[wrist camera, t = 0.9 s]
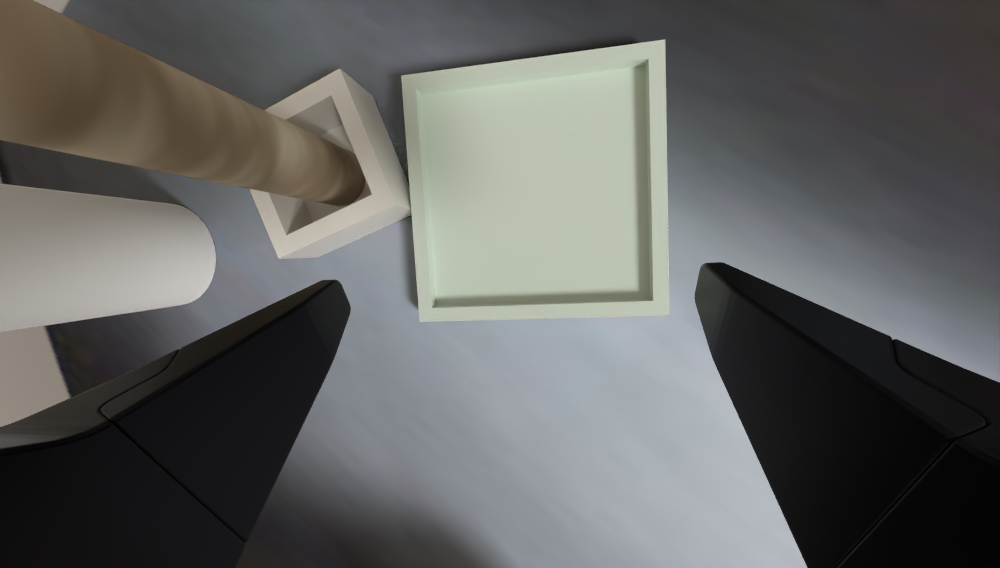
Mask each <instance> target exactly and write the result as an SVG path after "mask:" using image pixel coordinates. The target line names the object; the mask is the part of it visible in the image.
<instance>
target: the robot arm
mask: <svg viewBox="0 0 1000 568" xmlns="http://www.w3.org/2000/svg"><path fill="white" fill-rule="evenodd" d="M695 303H696V307H697V310H698V313H699V316H700V320H701V323H702V326H703V329H704V333H705V336H706V339H707V343H708V346H709V349H710V352H711V355H712V358H713V360H714V363H715V365H716V367H717V370H718V372H719V374H720V376H721V378H722V381H723V383H724V385H725V387H726V389H727V392H728V394H729V396H730V398H731V400H732V403H733V405H734V407H735V409H736V411H737V414H738V416H739V418H740V420H741V422H742V425H743V427H744V429H745V431H746V433H747V436H748V438H749V440H750V442H751V444H752V447H753V449H754V451H755V453H756V455H757V458H758V460H759V462H760V464H761V466H762V469H763V471H764V473H765V475H766V477H767V480H768V482H769V484H770V486H771V488H772V491H773V493H774V495H775V497H776V499H777V502H778V504H779V506H780V508H781V510H782V513H783V515H784V517H785V519H786V521H787V524H788V526H789V528H790V530H791V532H792V535H793V537H794V539H795V541H796V543H797V546H798V548H799V550H800V552H801V554H802V557H803V559H804V561H805V563H806V565H807V568H1000V383H999V382H997V381H994V380H992V379H989V378H987V377H984V376H982V375H979V374H977V373H974V372H972V371H969V370H967V369H964V368H962V367H959V366H957V365H955V364H952V363H950V362H948V361H945V360H943V359H941V358H938V357H936V356H934V355H931V354H929V353H927V352H924V351H922V350H920V349H917V348H915V347H913V346H911V345H908V344H906V343H904V342H902V341H899V340H897V339H894V340H892V338H891V337H890V336H888V335H886V334H883V333H881V332H879V331H877V330H874V329H872V328H870V327H868V326H865V325H863V324H861V323H858V322H856V321H854V320H852V319H849V318H847V317H845V316H843V315H840V314H838V313H836V312H834V311H831V310H829V309H827V308H825V307H822V306H820V305H818V304H815V303H813V302H811V301H809V300H806V299H804V298H802V297H800V296H797V295H795V294H793V293H791V292H788V291H786V290H784V289H782V288H779V287H777V286H775V285H773V284H770V283H768V282H766V281H764V280H761V279H759V278H757V277H754V276H752V275H750V274H748V273H745V272H743V271H741V270H739V269H736V268H734V267H732V266H730V265H727V264H725V263H721V262H718V263H705V264H703V265H702V266H701V268H700V272H699V276H698V281H697V286H696V291H695ZM350 310H351V309H350V303H349V301H348V299H347V296H346V294H345V292H344V289H343V287H342V285H341V283H340V282H339V281H338V280H322V281H320V282H317V283H315V284H313V285H311V286H309V287H307V288H305V289H303V290H301V291H299V292H297V293H294V294H292V295H290V296H288V297H286V298H284V299H282V300H280V301H278V302H276V303H274V304H272V305H269V306H267V307H265V308H263V309H261V310H259V311H257V312H255V313H253V314H251V315H249V316H246V317H244V318H242V319H240V320H238V321H236V322H234V323H232V324H230V325H228V326H226V327H223V328H221V329H219V330H217V331H215V332H213V333H211V334H209V335H207V336H205V337H203V338H201V339H198V340H196V341H194V342H192V343H190V344H188V345H186V346H184V347H182V348H181V349H180V350H179V349H178V350H175V351H173V352H171V353H169V354H167V355H165V356H163V357H161V358H159V359H156V360H154V361H152V362H150V363H148V364H146V365H144V366H141V367H139V368H137V369H135V370H133V371H131V372H128V373H126V374H124V375H122V376H120V377H117V378H115V379H113V380H111V381H108V382H106V383H104V384H102V385H99V386H97V387H95V388H93V389H90V390H88V391H86V392H83V393H81V394H79V395H77V396H74V397H72V398H70V399H67V400H65V401H63V402H61V403H58V404H56V405H54V406H51V407H49V408H47V409H45V410H42V411H40V412H38V413H36V414H33V415H31V416H29V417H26V418H24V419H21V420H19V421H17V422H14V423H11V424H9V425H6V426H3V427H0V568H235V567H236V565H237V562H238V560H239V558H240V556H241V554H242V552H243V550H244V548H245V546H246V543H245V542H247V541H248V539H249V537H250V535H251V532H252V530H253V528H254V526H255V524H256V522H257V520H258V518H259V516H260V514H261V512H262V509H263V507H264V505H265V503H266V501H267V499H268V497H269V495H270V493H271V491H272V489H273V486H274V484H275V482H276V480H277V478H278V476H279V474H280V472H281V470H282V468H283V465H284V463H285V461H286V459H287V457H288V455H289V453H290V451H291V449H292V447H293V445H294V442H295V440H296V438H297V436H298V434H299V432H300V430H301V428H302V426H303V424H304V422H305V419H306V417H307V415H308V413H309V411H310V409H311V407H312V405H313V403H314V401H315V398H316V396H317V394H318V392H319V390H320V388H321V386H322V384H323V382H324V380H325V378H326V375H327V373H328V371H329V369H330V367H331V365H332V362H333V360H334V357H335V355H336V352H337V349H338V347H339V344H340V341H341V338H342V335H343V332H344V329H345V327H346V324H347V321H348V318H349V315H350Z"/></svg>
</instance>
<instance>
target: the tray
mask: <svg viewBox="0 0 1000 568" xmlns="http://www.w3.org/2000/svg"><path fill="white" fill-rule="evenodd" d="M401 80H402V93H403V107H404V120H405V133H406V147H407V160H408V173H409V187H410V200H411V213H412V227H413V240H414V253H415V267H416V280H417V293H418V307H419V320H420V322H435V321H473V320H510V319H548V318H586V317H623V316H661V315H669V255H668V191H667V126H666V62H665V40H659V41H651V42H644V43H637V44H629V45H622V46H615V47H607V48H600V49H593V50H585V51H578V52H571V53H563V54H556V55H549V56H541V57H534V58H527V59H519V60H512V61H505V62H497V63H490V64H483V65H475V66H468V67H461V68H453V69H446V70H439V71H431V72H424V73H417V74H409V75H402V76H401Z"/></svg>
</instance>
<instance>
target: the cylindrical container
mask: <svg viewBox="0 0 1000 568" xmlns="http://www.w3.org/2000/svg"><path fill="white" fill-rule="evenodd" d="M215 266H216V253H215V247H214V243H213V239H212V237H211V235H210V232H209V230H208V229H207V227H206V226H205V224H204V223H203V221H202V220H201V219H200V218H199V217H198V216H197V215H196V214H194V213H193V212H192V211H190V210H189V209H187V208H185V207H182V206H180V205H176V204H170V203H162V202H153V201H145V200H136V199H127V198H119V197H110V196H102V195H93V194H85V193H76V192H68V191H59V190H50V189H42V188H33V187H25V186H16V185H8V184H0V332H5V331H12V330H19V329H25V328H32V327H39V326H45V325H52V324H59V323H66V322H72V321H79V320H86V319H92V318H99V317H106V316H112V315H119V314H126V313H132V312H139V311H146V310H152V309H159V308H166V307H172V306H179V305H184V304H188V303H191V302H193V301H195V300H197V299H198V298H199V297H200V296H201V295H203V293H204V292H205V291H206V290H207V289H208V287H209V285H210V283H211V281H212V279H213V276H214V272H215Z"/></svg>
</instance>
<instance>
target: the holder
mask: <svg viewBox="0 0 1000 568" xmlns="http://www.w3.org/2000/svg"><path fill="white" fill-rule="evenodd" d="M265 111H267V112H269V113H271V114H273V115H275V116H277V117H279V118H282V119H284V120H286V121H288V122H290V123H292V124H294V125H296V126H298V127H301V128H303V129H305V130H307V131H309V132H311V133H313V134H315V135H317V136H319V137H322V138H324V139H326V140H328V141H330V142H332V143H334V144H336V145H338V146H341V147H343V148H345V149H347V150H349V151H351V152H353V153H354V154H355V155H356V157H357V159H358V161H359V164H360V166H361V169H362V171H363V174H364V176H365V186H364V189H363V191H362V193H361V195H360V196H359V197H358V198H357V199H356V200H355V201H354V202H352V203H351V204H348V205H345V206H334V205H329V204H324V203H319V202H314V201H309V200H304V199H299V198H294V197H288V196H283V195H278V194H273V193H268V192H263V191H258V190H253V189H250V192H251V194H252V196H253V199H254V201H255V204H256V206H257V208H258V211H259V213H260V215H261V218H262V220H263V223H264V225H265V227H266V230H267V232H268V234H269V237H270V239H271V241H272V244H273V246H274V249H275V251H276V253H277V256H278V258H279V259H283V258H312V257H320V256H322V255H324V254H327V253H329V252H331V251H333V250H336V249H338V248H340V247H342V246H344V245H347V244H349V243H351V242H353V241H355V240H358V239H360V238H362V237H364V236H366V235H369V234H371V233H373V232H375V231H377V230H380V229H382V228H384V227H386V226H388V225H391V224H393V223H395V222H397V221H400V220H402V219H404V218H406V217H408V216H411V215H412V213H411V200H410V187H409V183H408V181H407V179H406V176H405V174H404V171H403V169H402V166H401V164H400V161H399V159H398V156H397V154H396V152H395V149H394V147H393V144H392V142H391V139H390V137H389V134H388V132H387V129H386V127H385V125H384V122H383V120H382V117H381V115H380V112H379V110H378V107H377V105H376V102H375V100H374V98H373V96H372V95H371V94H370V93H369V92H368V91H366V90H365V89H364V88H363V87H362V86H360V85H359V84H358V83H357V82H356V81H354V80H353V79H352V78H351V77H350V76H348V75H347V74H346V73H345V72H344V71H342V70H341V69H340V68H339V69H338V70H336V71H334V72H332V73H330V74H329V75H327V76H325V77H323V78H321V79H320V80H318V81H316V82H314V83H312V84H311V85H309V86H307V87H305V88H303V89H302V90H300V91H298V92H296V93H294V94H292V95H291V96H289V97H287V98H285V99H283V100H282V101H280V102H278V103H276V104H274V105H273V106H271V107H269V108H267V109H265Z"/></svg>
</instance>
